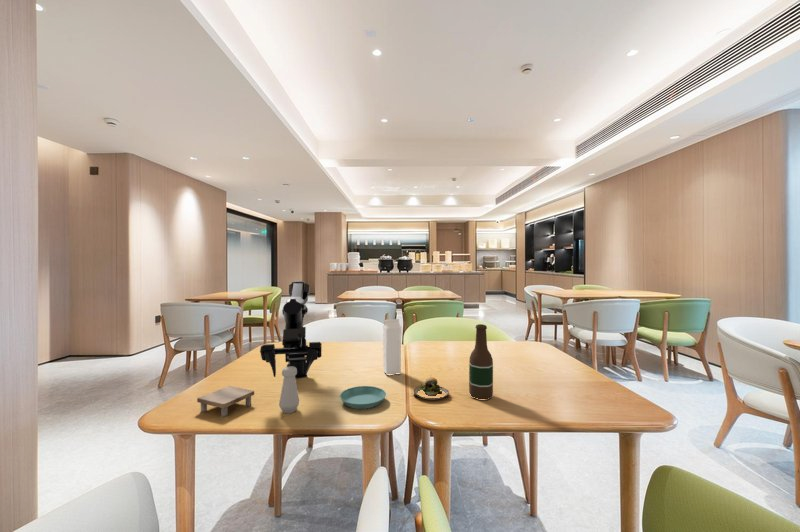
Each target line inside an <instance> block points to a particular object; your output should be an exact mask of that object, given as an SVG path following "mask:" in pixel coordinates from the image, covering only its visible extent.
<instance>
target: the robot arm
mask: <svg viewBox="0 0 800 532" xmlns="http://www.w3.org/2000/svg"><path fill="white" fill-rule="evenodd" d="M310 290H311V289H310V285H309V284H308V283H306V282H305V281H303V280H293V281H292V282H291V284H289V285H288V296H290V298H289V299H287V300H286V303H285V304H284V305H283V307H282V309H281V310H282V316H283V317H284V319H283V320H284V323H285V326H284V327H285V328H284V329H282V330H283V333H282V344H281V345H282V346H283V347H276V346H275V343H265V344H262V345H261V346H260V349H259V352H260V357H261V360H262V361H265V363H268V364H269V366H270V368H271V370H272V373H273V378H276V375H277V363H276V362H277V361H276V360H277V359H276V355H284V357H285V358H284V360H285V363H287V364H286V367H289V366H293V367H296V368H297V374H296V375H295V379H299V378H305V377H308V372H309V370H310V368H311V366H312V365H313V363H314V361H316V360H318V359H319V358H321V357H322V344H323V343H322V342H321V341H312V342H311V341H310V342H309V343H308V344H307V339H306V338H307V337H306V330H307V328H306V326H304V318H305V316H306V315H307V314H308V312H309V308H308V306H307V305H306V303H307V302H308V300H309V296H310Z"/></svg>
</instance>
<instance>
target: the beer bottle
mask: <svg viewBox="0 0 800 532" xmlns="http://www.w3.org/2000/svg"><path fill="white" fill-rule="evenodd" d="M475 329H476V330H475V345H474V349H472V351H471V353H470V354H469V355H470V356H469V362H468V368H469V369H468V370H469V371H468V372H469V373H468V381H469V382H468V387H469V389H468V390H469V393H470V394H471V396H472V397H475V398H478V399H488V398H490V397H492V396H493V395H494V360H493V357H492V354H491V353H490V351H489V348H488V341H487V340H488V339H487V329H488V327H487V325H485V324H476V325H475ZM470 394H469V395H470ZM471 396H470V397H471ZM472 397H471V398H472ZM492 398H493V397H492Z"/></svg>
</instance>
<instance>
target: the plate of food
mask: <svg viewBox="0 0 800 532" xmlns="http://www.w3.org/2000/svg"><path fill="white" fill-rule="evenodd" d="M420 390H423V391H424V392H425V394H426V395H428V396H436V395H437V394H442V391H444V392H445V393H446V395H445V396H444V397H440V398H425V397H421V396H418V394H417V393H418V391H420ZM440 390H442V391H440ZM414 395H415V396H417V397H418V398H421V399H425V400H441V399H443V398H446V397H448V396H449V397H450V393H449V390H448V389H447V388H445V387H443V386H441V385H439V383H438V380H437V378H435V377H432V376H430V377H428V378H426V379H425V381H424V385H422V384H421V385H420V386H417V387H415V388H414V390H413V396H414Z"/></svg>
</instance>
